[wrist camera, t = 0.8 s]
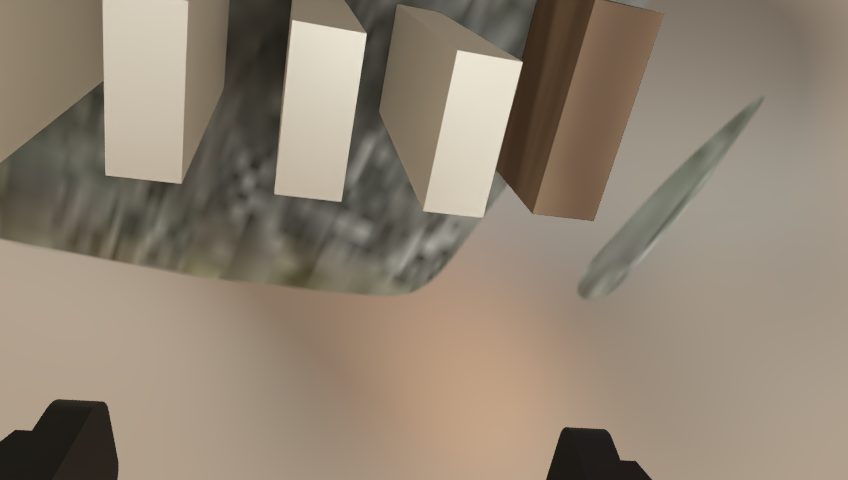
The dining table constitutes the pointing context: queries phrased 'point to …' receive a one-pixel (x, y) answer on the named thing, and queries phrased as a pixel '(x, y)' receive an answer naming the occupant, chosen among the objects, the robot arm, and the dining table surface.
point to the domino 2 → (160, 83)
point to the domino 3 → (318, 99)
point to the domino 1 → (45, 63)
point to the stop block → (574, 102)
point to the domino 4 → (446, 108)
